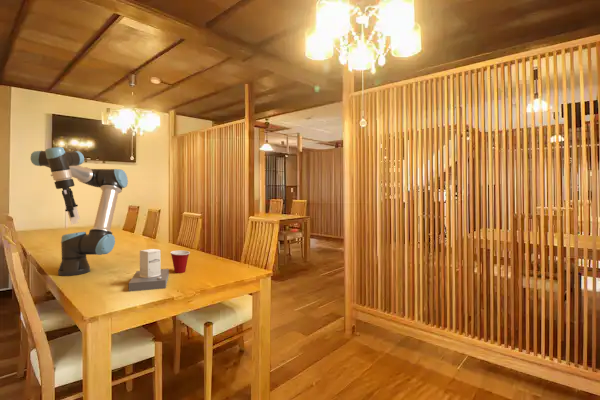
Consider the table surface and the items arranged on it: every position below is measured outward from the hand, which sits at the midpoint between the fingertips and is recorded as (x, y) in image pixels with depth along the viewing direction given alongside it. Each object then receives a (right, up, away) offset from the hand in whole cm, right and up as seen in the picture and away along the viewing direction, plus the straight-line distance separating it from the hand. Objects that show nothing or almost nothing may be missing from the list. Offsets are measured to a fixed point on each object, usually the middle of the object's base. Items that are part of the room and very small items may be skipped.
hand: (75, 221), depth 160 cm
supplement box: (+35, -28, +5) cm, 45 cm away
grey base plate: (+34, -32, +6) cm, 47 cm away
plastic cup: (+42, -32, +28) cm, 59 cm away
